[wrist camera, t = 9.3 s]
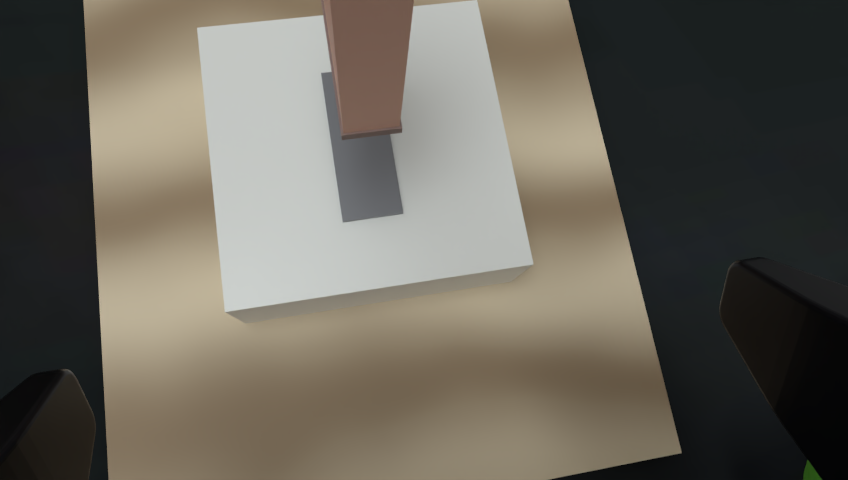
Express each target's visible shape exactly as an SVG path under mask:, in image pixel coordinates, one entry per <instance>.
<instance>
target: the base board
mask: <svg viewBox="0 0 848 480" xmlns="http://www.w3.org/2000/svg"><path fill="white" fill-rule="evenodd" d="M462 1H472V0H414V5H413V6H421V5H431V4H441V3H451V2H462ZM477 2H478V7H479V11H480V16H481V21H482V25H483V30H484V35H485V39H486V44H487V49H488V53H489V58H490V63H491V67H492V72H493V77H494V81H495V86H496V91H497V95H498V100H499V105H500V109H501V114H502V119H503V124H504V128H505V133H506V138H507V142H508V147H509V152H510V156H511V161H512V166H513V170H514V175H515V180H516V184H517V189H518V194H519V198H520V203H521V208H522V212H523V217H524V222H525V226H526V231H527V236H528V240H529V245H530V250H531V255H532V259H533V265H532V266H531V267H530V268H528V269H527V270H526V271H524V272H523V273H522V274H521V275H519V276H518V277H517V278H515V279H514V280H513V281H512V282H506V283H500V284H494V285H487V286H481V287H475V288H468V289H462V290H455V291H449V292H443V293H436V294H430V295H424V296H417V297H411V298H405V299H398V300H392V301H386V302H379V303H373V304H367V305H360V306H354V307H348V308H341V309H335V310H328V311H322V312H316V313H309V314H303V315H297V316H290V317H284V318H278V319H271V320H265V321H259V322H252V323H244V322H242V321H240V320H238V319H236V318H235V317H233V316H231V315H229V314H227V313H226V312H225V309H224V298H223V288H222V278H221V268H220V258H219V247H218V237H217V227H216V217H215V207H214V196H213V186H212V176H211V166H210V156H209V145H208V135H207V125H206V115H205V104H204V94H203V84H202V74H201V64H200V53H199V43H198V33H197V28H199V27H209V26H219V25H229V24H239V23H250V22H260V21H270V20H280V19H290V18H300V17H310V16H320V15H323V11H322V4H321V0H84V19H85V38H86V57H87V76H88V95H89V114H90V133H91V152H92V171H93V190H94V209H95V228H96V247H97V265H98V284H99V303H100V322H101V341H102V360H103V379H104V398H105V417H106V436H107V455H108V474H109V480H549V479H554V478H559V477H564V476H569V475H574V474H579V473H584V472H589V471H594V470H599V469H604V468H609V467H614V466H619V465H624V464H629V463H634V462H639V461H644V460H649V459H654V458H659V457H664V456H669V455H674V454H679V453H682V452H681V448H680V444H679V440H678V436H677V432H676V428H675V424H674V420H673V416H672V412H671V408H670V404H669V400H668V396H667V392H666V388H665V384H664V380H663V376H662V372H661V368H660V364H659V360H658V356H657V352H656V348H655V344H654V340H653V336H652V332H651V328H650V324H649V320H648V316H647V312H646V308H645V304H644V300H643V296H642V292H641V288H640V284H639V280H638V276H637V272H636V268H635V264H634V260H633V256H632V252H631V249H630V245H629V241H628V237H627V233H626V229H625V225H624V221H623V217H622V213H621V209H620V205H619V201H618V197H617V193H616V189H615V185H614V181H613V177H612V173H611V169H610V165H609V161H608V157H607V153H606V149H605V145H604V141H603V137H602V133H601V129H600V125H599V121H598V117H597V113H596V109H595V105H594V101H593V97H592V93H591V89H590V85H589V81H588V77H587V73H586V69H585V65H584V61H583V57H582V53H581V49H580V45H579V41H578V37H577V33H576V29H575V25H574V21H573V17H572V13H571V9H570V5H569V1H568V0H477Z"/></svg>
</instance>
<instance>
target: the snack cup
mask: <svg viewBox="0 0 848 480" xmlns="http://www.w3.org/2000/svg"><path fill="white" fill-rule="evenodd" d="M803 480H822V479H821V478H820V476H819V475H818V473H817V472H816V471H815V469H814V468H813V466H812V465H811V464H810V462H809V461H808V460H807V463H806V466H805V469H804V475H803Z"/></svg>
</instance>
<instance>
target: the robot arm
mask: <svg viewBox="0 0 848 480" xmlns="http://www.w3.org/2000/svg"><path fill="white" fill-rule="evenodd" d="M719 309H720V318H721V321H722V323H723V325H724V327H725V329H726V331H727V332H728V334H729V336H730V338H731V339H732V341H733V343H734V344H735V346H736V348H737V350H738V351H739V353H740V355H741V357H742V358H743V360H744V362H745V364H746V365H747V367H748V369H749V371H750V372H751V374H752V376H753V378H754V379H755V381H756V383H757V384H758V386H759V388H760V390H761V391H762V393H763V395H764V397H765V398H766V400H767V402H768V403H769V405H770V406H771V408H772V410H773V411H774V413H775V414H776V416H777V417H778V419H779V420H780V422H781V423H782V425H783V426H784V427H785V429H786V430H787V432H788V433H789V434H790V436H791V437H792V439H793V440H794V441H795V443H796V444H797V445H798V447H799V448H800V450H801V451H802V452H803V454H804V455H805V457H806V458H807V459H808V461H809V462H810V464H811V465H812V466H813V468H814V469H815V471H816V472H817V473H818V475H819V476H820V478H821V479H822V480H848V286H845V285H842V284H839V283H836V282H834V281H831V280H828V279H825V278H822V277H819V276H816V275H813V274H810V273H807V272H804V271H801V270H799V269H796V268H793V267H790V266H787V265H784V264H781V263H778V262H775V261H772V260H769V259H766V258H761V257H757V258H750V259H744V260H738V261H736V262H734V263H732V264H731V266H730V267H729V269H728V273H727V277H726V281H725V285H724V289H723V294H722V298H721V302H720V307H719ZM95 431H96V425H95V418H94V415H93V412H92V410H91V408H90V406H89V403H88V401H87V399H86V397H85V395H84V393H83V391H82V389H81V387H80V385H79V383H78V381H77V378H76V377H75V375H74V374H73V373H72V372H71V371H70V370H67V369H59V370H52V371H46V372H40V373H36V374H33V375H31V376H30V377H28V378H27V379H26V380H24V381H23V382H22V383H21V384H19V385H18V386H17V387H16V388H14V389H13V390H12V391H11V392H9V393H8V394H7V395H6V396H4V397H3V398H2V399H1V400H0V480H88V479H89V473H90V466H91V459H92V452H93V445H94V439H95Z"/></svg>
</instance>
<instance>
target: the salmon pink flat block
mask: <svg viewBox="0 0 848 480" xmlns="http://www.w3.org/2000/svg"><path fill="white" fill-rule="evenodd" d="M321 4H322V11H323V18H324V24H325V31H326V38H327V44H328V51H329V58H330V64H331V71H332V78H333V84H334V91H335V98H336V104H337V111H338V118H339V124H340V131H341V138H342V140H348V139H356V138H364V137H372V136H380V135H388V134H396V133H402V123H401V110H402V102H403V93H404V84H405V75H406V66H407V58H408V49H409V40H410V31H411V22H412V14H413V5H414V0H321Z"/></svg>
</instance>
